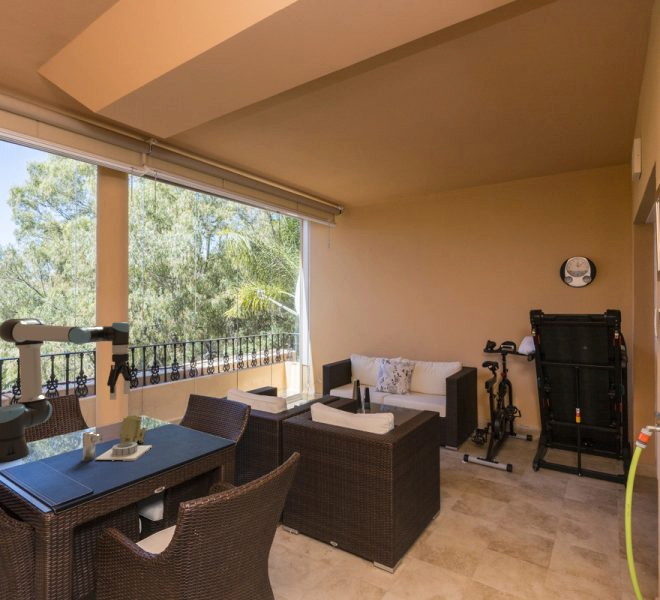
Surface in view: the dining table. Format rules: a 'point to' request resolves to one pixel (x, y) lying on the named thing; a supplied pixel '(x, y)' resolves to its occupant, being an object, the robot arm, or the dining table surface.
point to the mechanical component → (132, 430)
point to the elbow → (90, 444)
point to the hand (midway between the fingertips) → (119, 396)
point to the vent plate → (126, 457)
